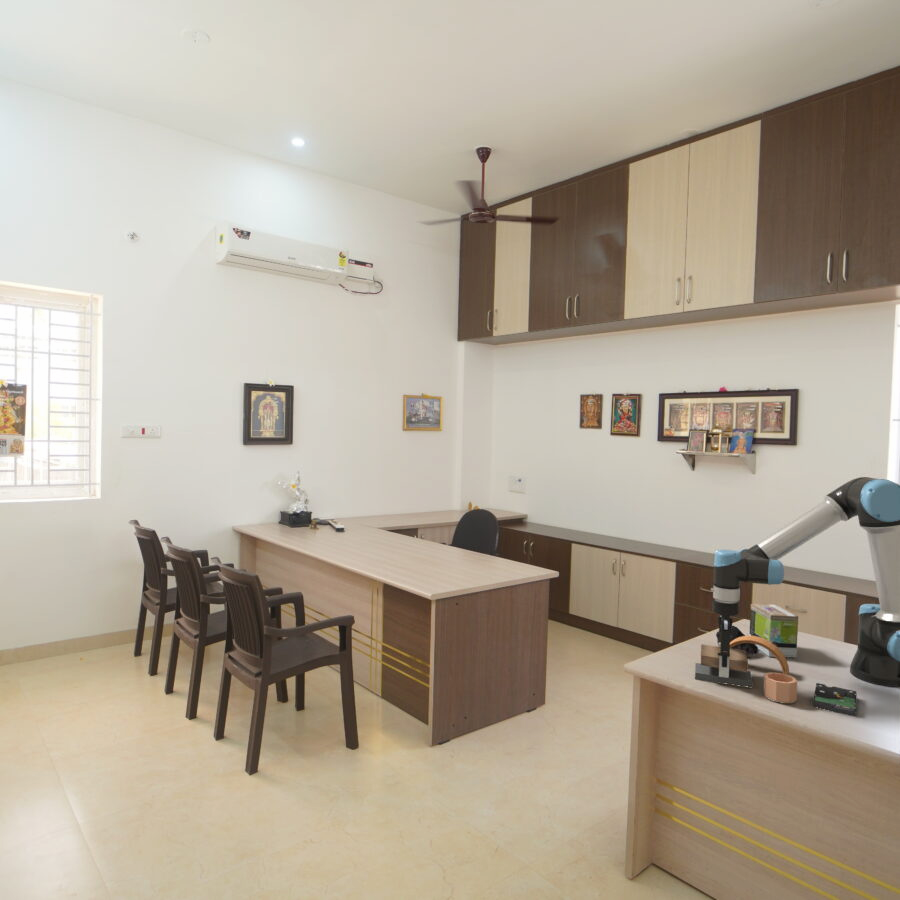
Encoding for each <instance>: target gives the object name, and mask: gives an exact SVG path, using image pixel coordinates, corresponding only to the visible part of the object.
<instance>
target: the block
mask: <svg viewBox="0 0 900 900" xmlns="http://www.w3.org/2000/svg"><path fill="white" fill-rule="evenodd" d="M698 679H700V681H704V680H706V682H710V681H713V682H712V683H717V682H720V683H719V684H723V683H727V684H726V685H729V684H734V685H733V686H735V685H740V686H739V687H741V686H748V687H752V688H753V679H752V673H751V671H750V670H748V672H743V671H737V670H730V669H729V678H726V677H719V668H717V667H710V666H704V665H701V662H698V663H697V662H695V669H694V680H698ZM748 687H747V688H748Z"/></svg>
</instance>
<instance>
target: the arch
mask: <svg viewBox="0 0 900 900" xmlns="http://www.w3.org/2000/svg"><path fill="white" fill-rule="evenodd" d="M741 643H753V644H757V645H759V646H762V647H764V648H766V649H767V650H769V651H770V652H771V653H772V654H773V655H774V656H775V657H774V658H776V660H777V661H778V662H779V663H778V664H780V667H781V670H782V673H783V674H787V675H789V674H790V668H789V663H788V660H787V658H786V657H785V656H784V655H783V653H782V652H781V651H780V650H779V649H778V648H777V647H776V646H775V645H774V644H773V643H771V642H770V641H768V640H766V639H763V638H761V637H757V636H749V635H745V636H742V637H738V638H736V639H734V640H733V641H731V642H730V648H732V647H733V646H735V645H737V644H741Z"/></svg>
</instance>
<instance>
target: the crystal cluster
mask: <svg viewBox="0 0 900 900" xmlns="http://www.w3.org/2000/svg"><path fill="white" fill-rule="evenodd" d="M715 636H716V639H717V645H718V646H717V647H719V643H721V642H719V630H718V631H716V633H715ZM742 636H746V635H745V634H744V633H743V632H742V631H741V630H740V629H739V628H738V627H737V626H735V625H732V627H731V635H730V642H731V641H733V640H734V639H736V638H738V637H742ZM731 649H738V650H745V651H746V655H747V658H754V656H755V657H756V656H757V654H758V653H759V649H758V647H757V646H756V645H755V644H753V643H741V644H737V645H735V646H733V647H732V648H731Z"/></svg>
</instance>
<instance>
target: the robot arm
mask: <svg viewBox="0 0 900 900" xmlns="http://www.w3.org/2000/svg"><path fill="white" fill-rule="evenodd" d="M823 498H824V499H823V501H822V502H820V503H818V504H817V505H816V506H813V507H812V508H811V509H809V510H807V511H806V512H805V513H803V514H802V515H800V516H798V517H797V518H795V519H793V520H792V521H791V522H788V524H786V525H784V526H783V527H781V528H779V529H778V530H777V531H775V532H773V533H772V534H770V535H769V536H767V537H766V538H764V539H762V540H761V541H759V542H758V543H756V544H755V545H753V546H751V547H750V548H742V549H740V550H739V551H737V550H733V549H718V550H716V551H715V554H714V561H713V562H714V563H713V587H711V588H710V590H711V591H712V592H713V593H712V598H713V599H712V609H711V610H712V612H713V613H715V614H718V615H719V616H718V617H717V624H718V631H719V642H721V643H719V647H720V653H718V656H720V659H719V677H726V678H729V656H730V635H731V627H732V626H733V619H732V618H731V617H732V616H737V615H739V614H740V603H739V601H740V596H741V595H740V593H741V590H740V589H741V585H740V584H741V583H744V584H745V583H746V584H747V583H748V584H757V585H758V584H759V585H768V586H771V585H781V584H782V582H784V577H785V570H784V569H785V568H784V564H783V563H782V562H781V560H780V559H782V558H784V556H786V555H788V554H789V553H791V552H792V551H794V550H796V549H797V548H799V547H802V545H804V544H805V543H807V542H809V541H811V540H812V539H814V538H815V537H817V536H819V535H820V534H822V533H823V532H825V531H826V530H828V529H829V528H831V527H833V526H834V525H836V524H837V523H839V522H841V521H843V522H847V521H849V520H850V519H852V518H854V517H857V516H858V518H857V519H858V522H859V527H860V528H862V529H863V530H865V531H866V535H867V539H868V546H869V551H870V556H871V562H872V563H871V564H872V569H873V574H874V579H875V586H876V591H877V596H878V602H879V604H877V603H864V604H861V605H860V607H859V610H858V611H859V612H858V614H857V615H858V625H857V626H858V630H857V631H858V632H857V649H856V652H855V653H854V656H853V658H852V660H851V662H850V665H849V666H850V667H849V673H850V674H851V675H852V676H853V677H856V678H857V679H860V680H862V681H865V682H868V683H871V684H874V685H875V684H876V685H880V686H887V687H900V484H899V483H897V482H894V481H891V480H889V479H885V478H875V477H868V476H861V477H856V478H853V479H851V480H849V481H847V482H845V483H843V484H842V485H840V486H839V487H837V488H836V489H834V490H832V491H831V492H829V493H827V494H826V495H825V496H823ZM723 651H725V652H723Z"/></svg>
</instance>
